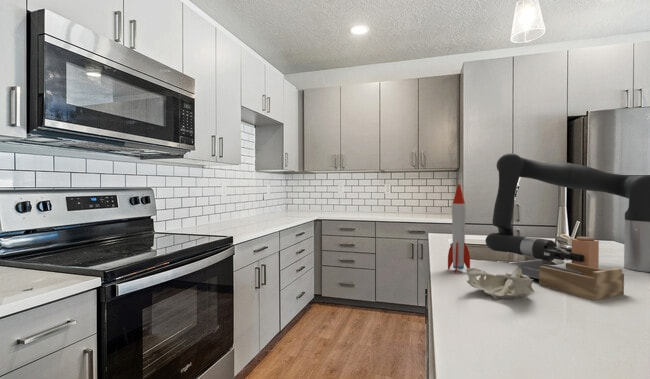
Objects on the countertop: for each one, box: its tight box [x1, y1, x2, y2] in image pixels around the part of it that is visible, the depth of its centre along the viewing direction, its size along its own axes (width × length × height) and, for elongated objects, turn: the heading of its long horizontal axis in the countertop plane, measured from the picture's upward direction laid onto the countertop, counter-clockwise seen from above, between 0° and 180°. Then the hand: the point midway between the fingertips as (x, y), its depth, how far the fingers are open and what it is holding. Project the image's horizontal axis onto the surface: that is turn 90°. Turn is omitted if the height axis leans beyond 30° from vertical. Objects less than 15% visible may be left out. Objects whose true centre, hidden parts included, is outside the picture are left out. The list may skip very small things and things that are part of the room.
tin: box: [571, 236, 600, 269], centre depth 107 cm, size 5×5×13 cm
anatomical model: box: [466, 265, 535, 300], centre depth 90 cm, size 15×9×25 cm
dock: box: [538, 262, 625, 301], centre depth 95 cm, size 13×14×7 cm
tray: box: [517, 259, 582, 280], centre depth 103 cm, size 10×13×4 cm
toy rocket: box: [447, 183, 471, 274], centre depth 115 cm, size 6×6×30 cm
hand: (589, 257), depth 106 cm, fingers open, 5 cm apart
